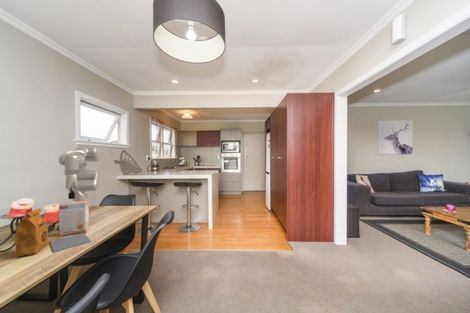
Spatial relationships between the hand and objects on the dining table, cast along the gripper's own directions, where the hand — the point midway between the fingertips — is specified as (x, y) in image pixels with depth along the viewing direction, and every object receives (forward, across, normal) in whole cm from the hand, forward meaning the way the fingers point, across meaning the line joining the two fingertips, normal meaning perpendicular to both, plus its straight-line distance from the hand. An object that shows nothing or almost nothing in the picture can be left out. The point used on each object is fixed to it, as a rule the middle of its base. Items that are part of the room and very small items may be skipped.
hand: (71, 198), depth 127 cm
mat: (+22, +24, -4) cm, 33 cm away
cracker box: (+22, +9, 0) cm, 24 cm away
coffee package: (+23, +22, -19) cm, 37 cm away
